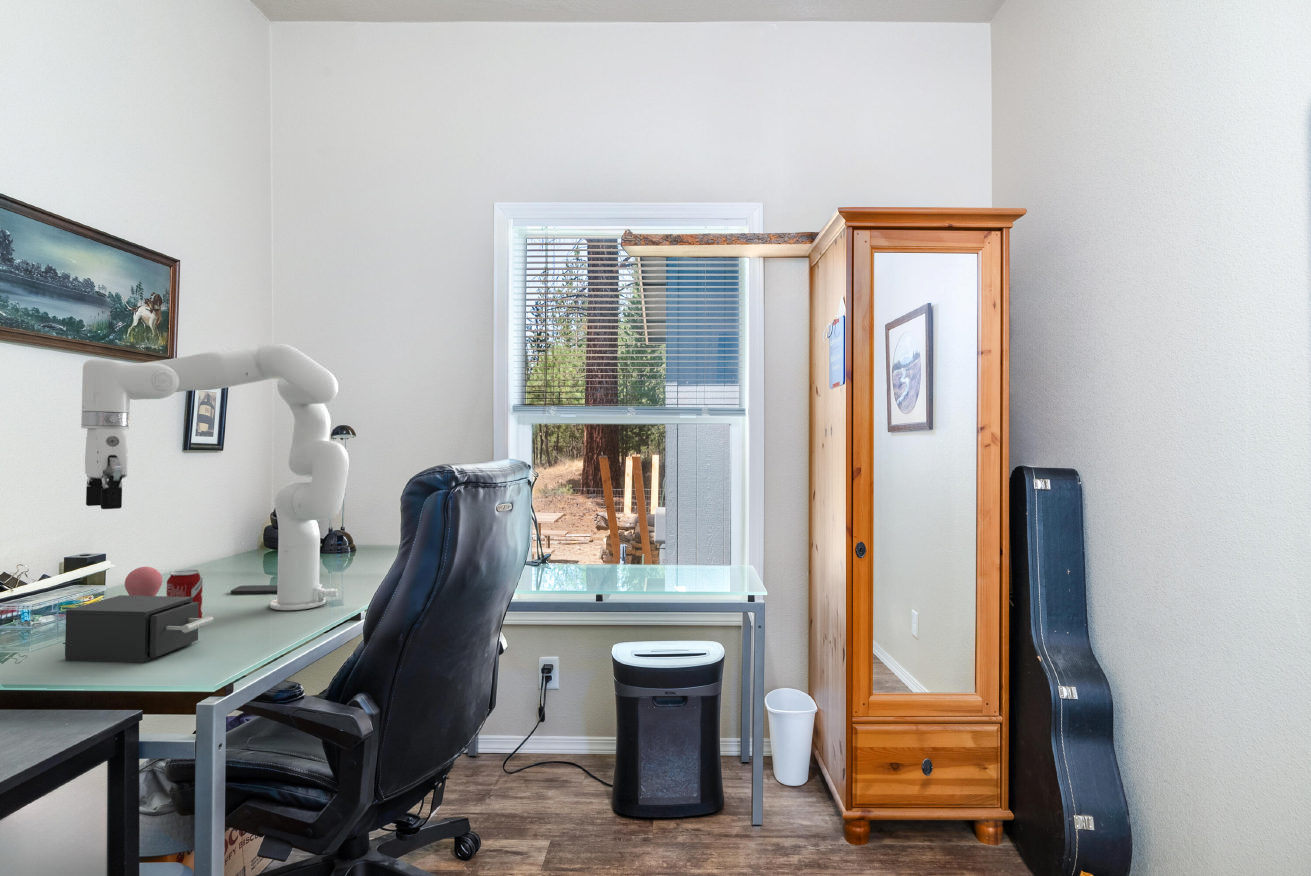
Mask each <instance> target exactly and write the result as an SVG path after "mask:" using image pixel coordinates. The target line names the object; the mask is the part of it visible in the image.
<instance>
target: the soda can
mask: <svg viewBox="0 0 1311 876" xmlns="http://www.w3.org/2000/svg"><path fill="white" fill-rule="evenodd" d="M200 573H201V572H200V570H199V569H182V570H181V569H180V570H175V571H171V572H170V573H169V575H170V576H169V577H168V579H167V580H166V595H165V596H170V597H193V602H199V611H198V618H203V585H204V584H203V581H204V579H203V577H202V575H201V574H200Z"/></svg>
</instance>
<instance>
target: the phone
mask: <svg viewBox="0 0 1311 876" xmlns="http://www.w3.org/2000/svg"><path fill="white" fill-rule="evenodd" d="M277 585H278V584H267V585H266V584H259V585H258V584H257V585H255V584H254V585H253V584H251V585H250V584H249V585H248V584H247V585H246V584H245V585H239V586H236V587H234V588H233V589H230V594H277Z"/></svg>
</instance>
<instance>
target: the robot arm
mask: <svg viewBox="0 0 1311 876" xmlns="http://www.w3.org/2000/svg"><path fill="white" fill-rule="evenodd" d="M81 379H82V382H81V383H82V385H81V420H80V421H81V424H80V425H81V426H80V429H86V437H85V452H84V453H85V454H84V472H85V475H86V477H87V479H86V488H85V490H86V491H85V495H86V496H85V506H87V507H94V506H95V507H96V506H97V507H98V506H100V509H101V510H115V509H116V510H117V509H122V508H123V507H122V505H123V481H122V480H123V479H125V478H127V477H128V476H129V456H128V455H129V454H128V453H129V452H128V449H129V448H128V437H127V431H126V430H130V412H131V411H130V407H131V402H130V401H131V400H138V401H139V400H161V399H165V398H168V397H170V396H172V395H173V394H174V393H180V392H189V391H211V390H219V389H225V388H231V387H236V386H241V385H247V384H252V383H258V382H264V381H270V380H277V386H276V387H277V391H278V394H279V396H280V397H281V398H282V400H283V401H284V402H285V403H286V404H287V406H288V407H289V409H290V410H291V412H292V415H293V419H294V422H293V423H294V424H293V426H294V427H293V432H292V438H291V443H290V448H289V455H288V468H289V470H290V471H291V472H292V473H293V474H294V475H297V476H298V477H299V476H300V477H307V478H311V480H310V481H291V482H288V483H286V484H284V485H283V486H281V487H280V489H279V490H278V491H277V493H276V495H275V498H274V510H275V514H276V519H277V528H278V529H277V531H278V533H277V534H278V537H277V538H278V543H277V584H276V585H277V593H276V594H277V595H276V599H273V600H272V601H270V602H269V607H270V609H272V610H275V611H299V610H301V611H302V610H309V609H313V608H318V607H321V606H324V604H326V598H337V597H338V592H339V590H338V588H335V589H334V588H324V587H323V584H322V583H320V562H321V561H320V559H321V531H320V527H319V524H318V522H325V521H326V522H327V521H330V520H332V519H334V518H335V517H336V516H337V515H338V514H339V513H340V511H341V509H342V506H343V503H344V500H345V499H344V498H345V494H346V493H345V492H346V487H347V482H348V477H349V476H348V475H349V468H350V457H349V454H348V452H347V450H346V448H345V447H344V445H342V444H341V443H340V442H337V441H335V440H330V435H331V425H332V423H331V422H332V421H331V415H330V413H329V411H328V408H327V407H326V404H328V403H330V402H331V401H333V400H334V399H335V398H336V396H338V392H339V383H338V381H337V379H336V377H335V376H334V374H333V373H332V372H331V371H329V370H328V369H327V368H325V367H324V366H322V365H321V364H320V363H318V362H317V361H316V360H314V359H312V358H311V357H309V356H308V355H307V354H305V353H303V352H302V351H301V350H299V349H297V348H296V347H293V346H292V345H290V344H286V343H272V344H271V343H269V344H259V345H258V344H257V345H251V346H250V345H249V346H244V347H237V348H229V349H222V350H215V351H208V352H202V353H196V354H191V355H187V356H182V357H181V356H180V357H175V358H174V357H173V358H169V359H161V360H154V361H146V362H139V363H136V362H124V361H121V360H113V359H103V358H102V359H100V358H99V359H98V358H97V359H96V358H95V359H88V360H86V361H85V362H84V363H83V365H82V378H81Z"/></svg>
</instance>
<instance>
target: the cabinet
mask: <svg viewBox="0 0 1311 876" xmlns="http://www.w3.org/2000/svg"><path fill="white" fill-rule="evenodd" d="M192 602H193V597H170V596H166V595H165V596H164V595H156V596H129V594H128V595H127V594H125V595H124V594H123V595H121V594H120V595H116V596H112V597H109V598H105V599H101V600H98V601H97V600H96V601H94V602H90V603H87V604H83V605H78V606H75V607H72V608H67V609H66V610H65V630H64V631H65V633H64V635H65V636H64V640H65V641H64V660H65V661H71V662H72V661H75V662H76V661H77V662H106V663H107V662H112V663H141V664H142V663H143V664H144V663H147V662H150V661H152V660H154V659H156V658H157V659H158V658H159V657H161V656H162V657H163V656H164V655H166V654H169V653H171V652H174V651H176V650H179V649H181V648H184V647H186V646H188V645H191V644H192V643H189V644H187V645H184V646H182V647H179V648H177V649H174V650H172V651H169V652H167V653H165V654H162V655H160V656H157V657H150V653H148V618H149V615H150V614H153V613H156V612H159V611H162V610H166V609H169V608H172V607H175V606H178V605H181V604H184V605H186V604H189V603H192Z"/></svg>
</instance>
